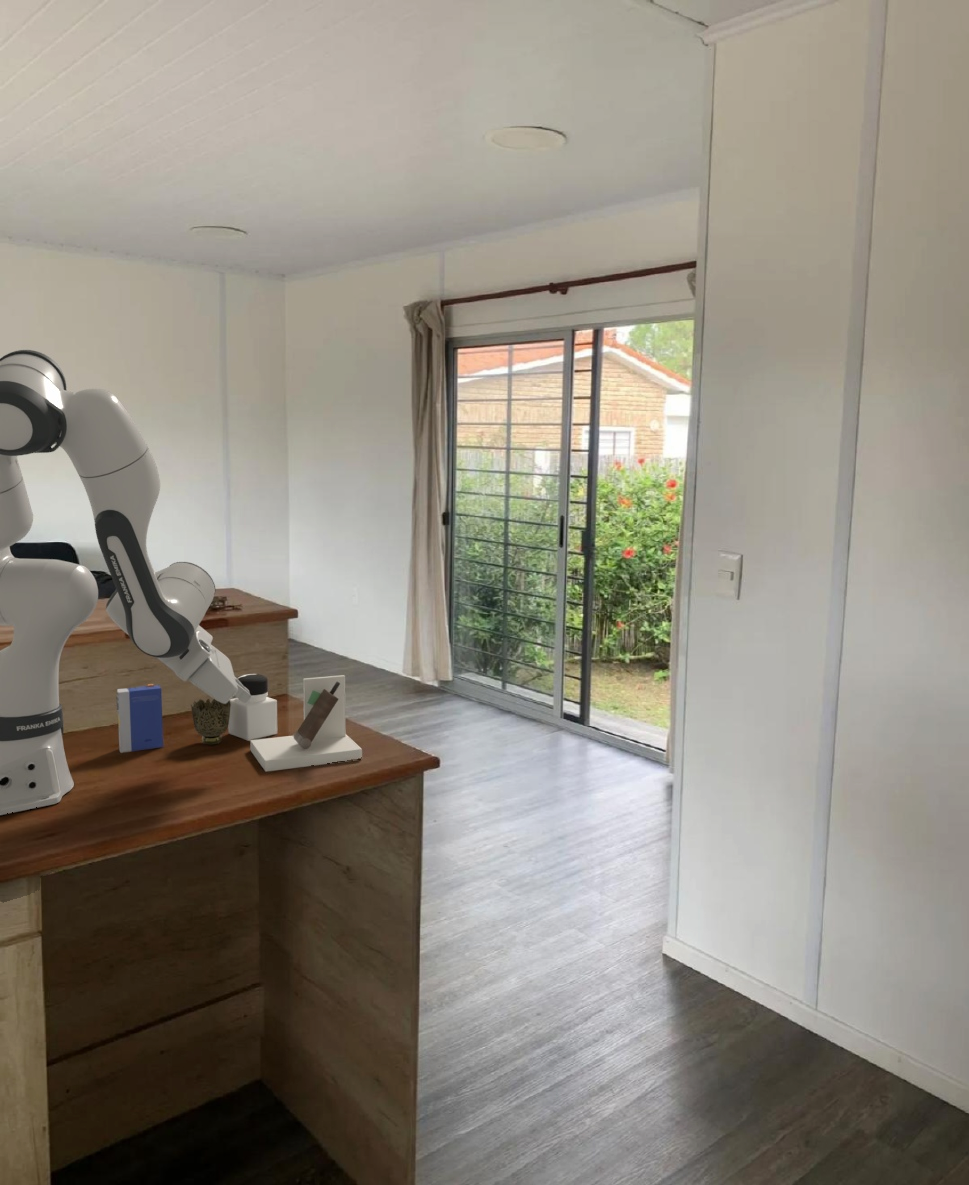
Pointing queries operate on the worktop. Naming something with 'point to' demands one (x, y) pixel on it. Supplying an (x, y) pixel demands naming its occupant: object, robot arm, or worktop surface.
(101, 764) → the worktop surface
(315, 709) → the lever
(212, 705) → the cup
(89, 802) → the worktop surface
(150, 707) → the walkman
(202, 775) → the worktop surface
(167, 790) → the worktop surface
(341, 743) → the stand
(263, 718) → the medicine bottle
